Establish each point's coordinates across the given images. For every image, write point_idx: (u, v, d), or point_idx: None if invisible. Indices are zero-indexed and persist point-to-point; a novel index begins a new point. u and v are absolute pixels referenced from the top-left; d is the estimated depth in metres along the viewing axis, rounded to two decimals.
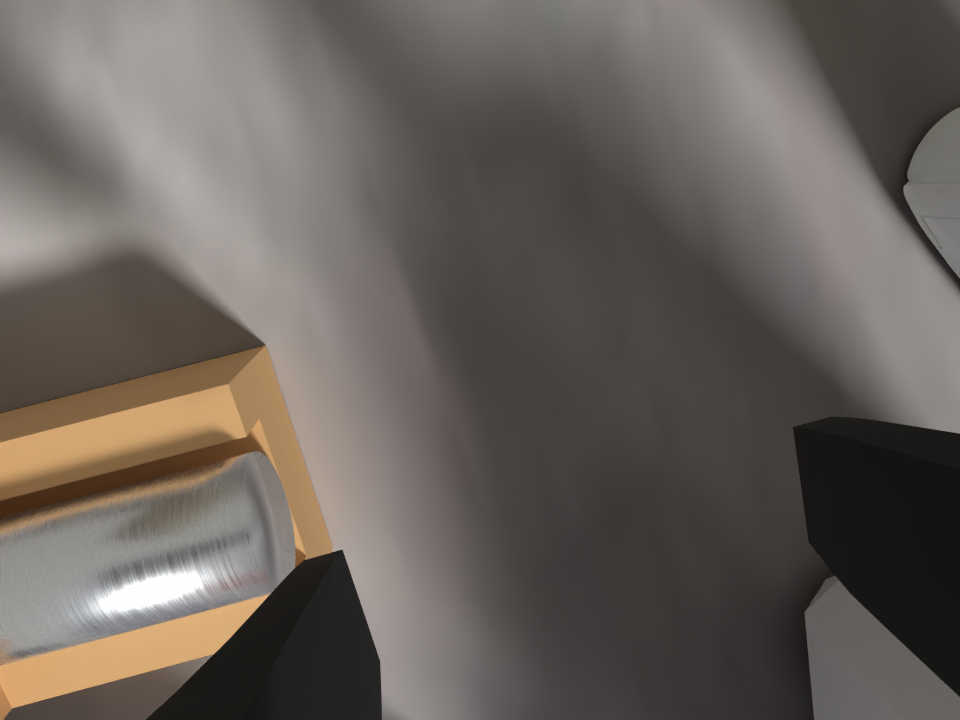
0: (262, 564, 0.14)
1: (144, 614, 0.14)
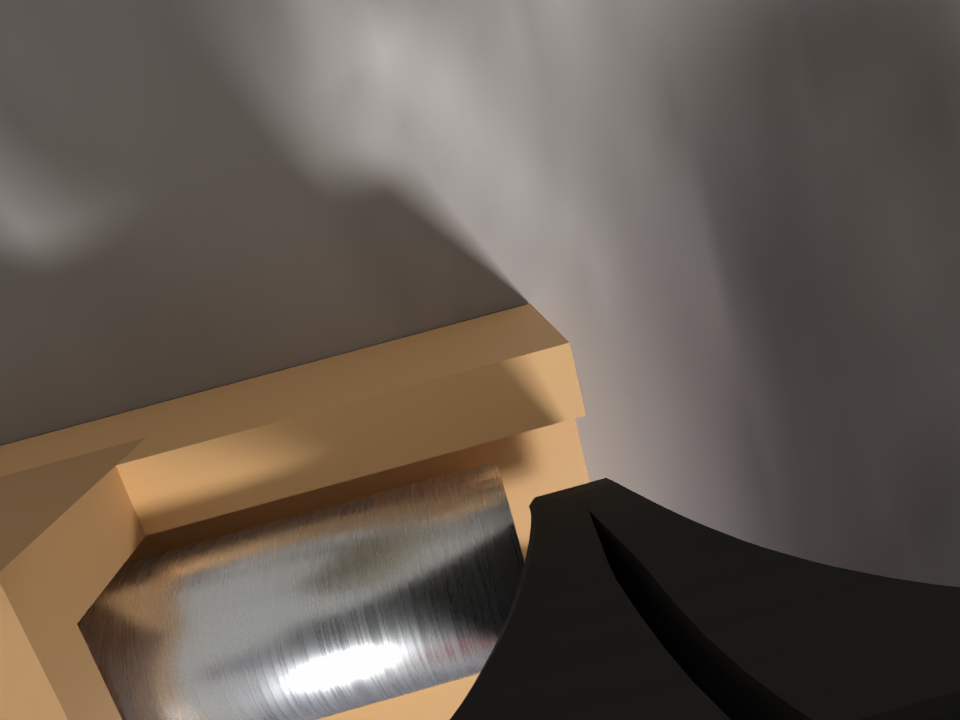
0: None
1: (375, 692, 0.10)
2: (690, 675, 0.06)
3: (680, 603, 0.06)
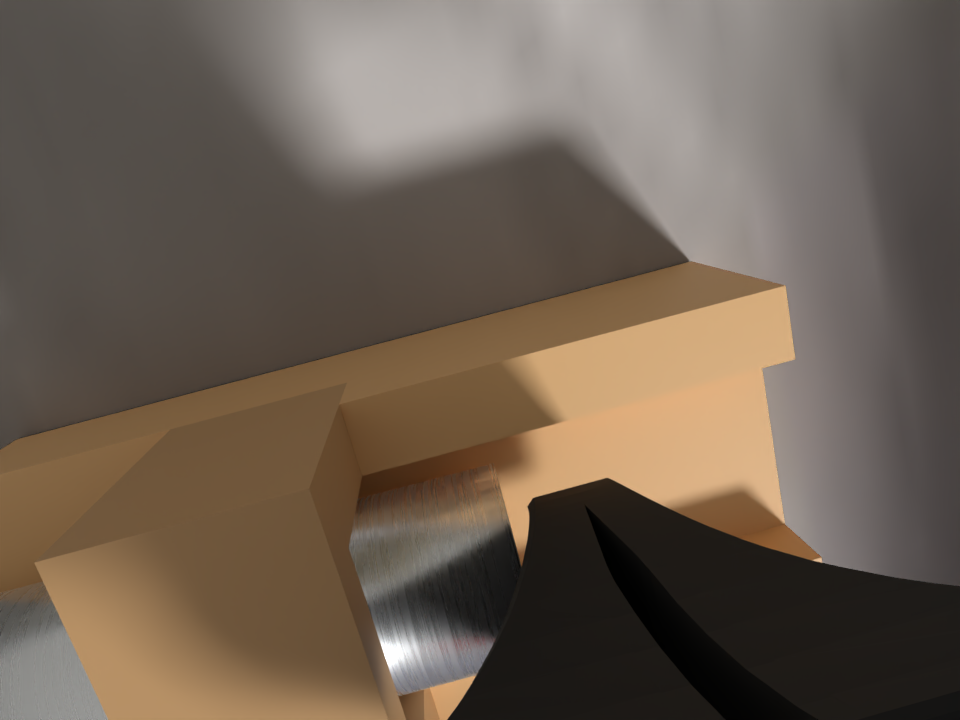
0: None
1: None
2: (692, 674, 0.06)
3: (682, 602, 0.06)
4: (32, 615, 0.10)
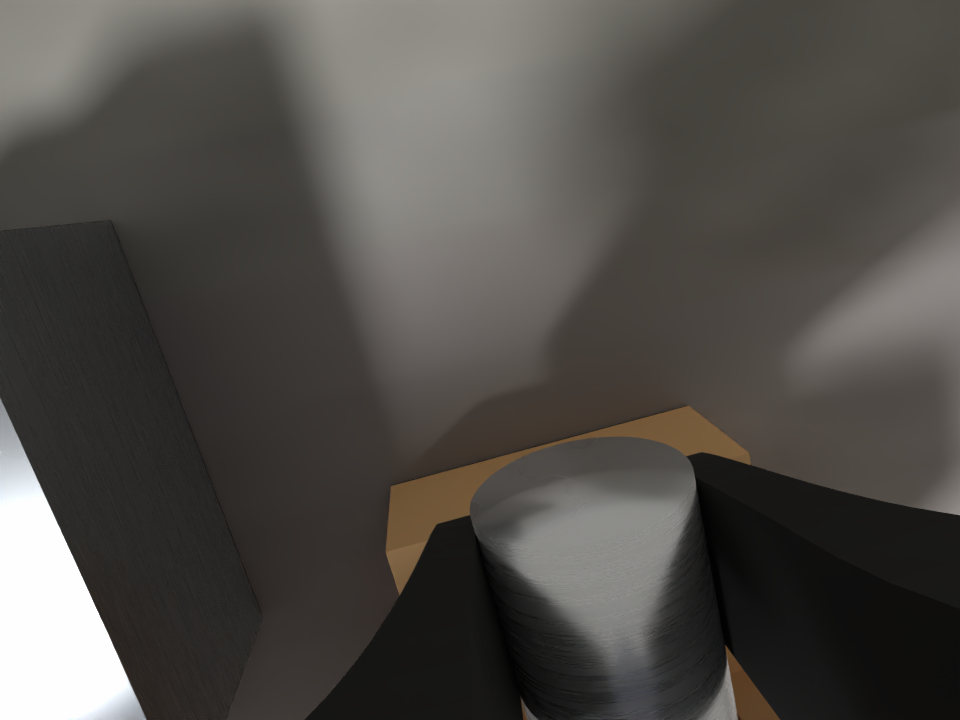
0: None
1: None
2: (849, 630, 0.06)
3: (845, 557, 0.06)
4: (729, 673, 0.10)
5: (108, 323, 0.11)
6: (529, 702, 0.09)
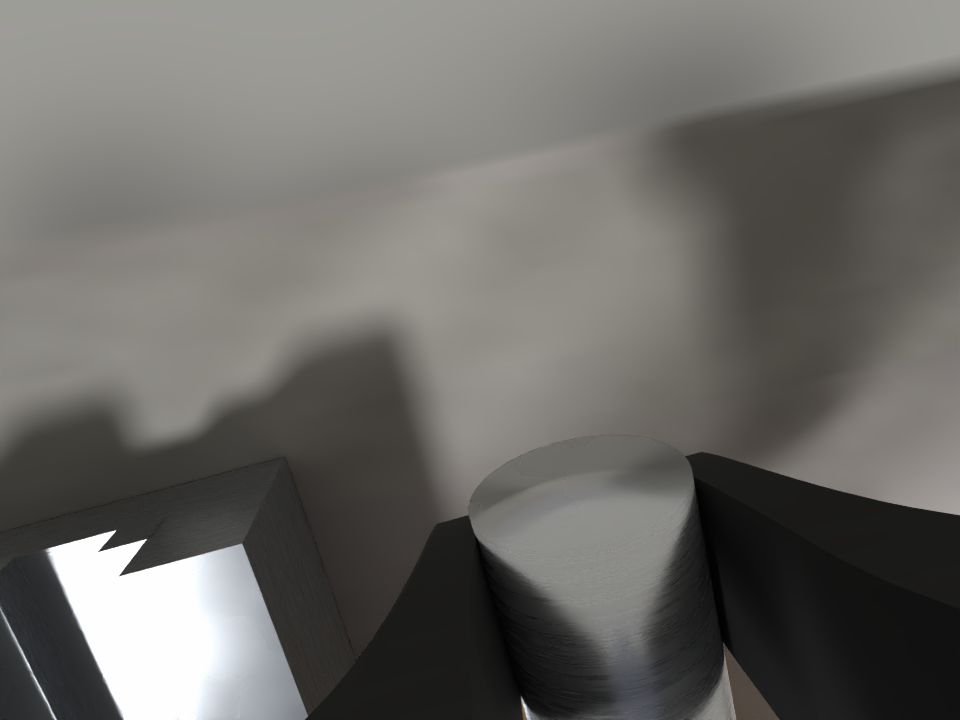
0: None
1: None
2: (849, 630, 0.06)
3: (844, 557, 0.06)
4: (727, 670, 0.10)
5: (293, 535, 0.17)
6: (528, 700, 0.09)
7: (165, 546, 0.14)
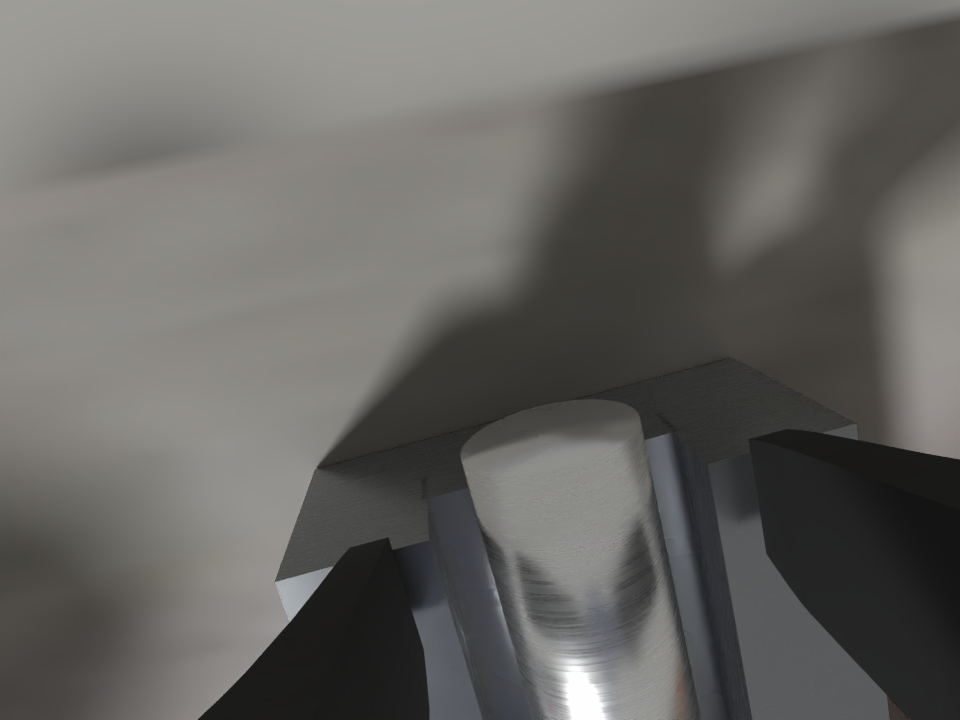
0: None
1: None
2: None
3: None
4: (674, 588, 0.12)
5: None
6: (511, 613, 0.11)
7: (724, 435, 0.12)
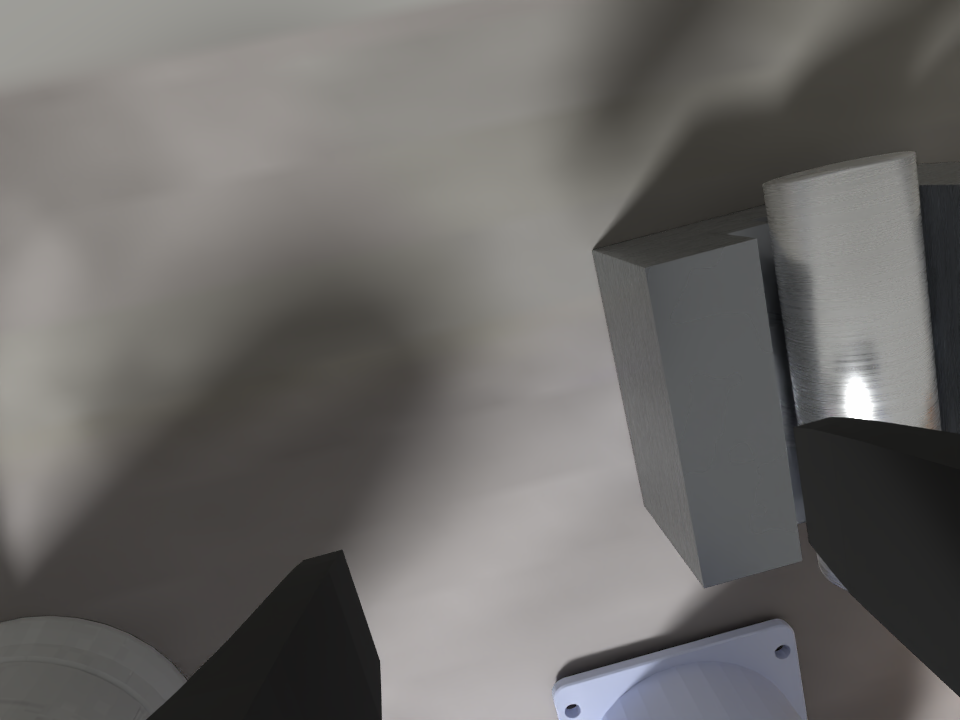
0: None
1: None
2: None
3: None
4: None
5: None
6: (809, 301, 0.15)
7: (959, 177, 0.16)
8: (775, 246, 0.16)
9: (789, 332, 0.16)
